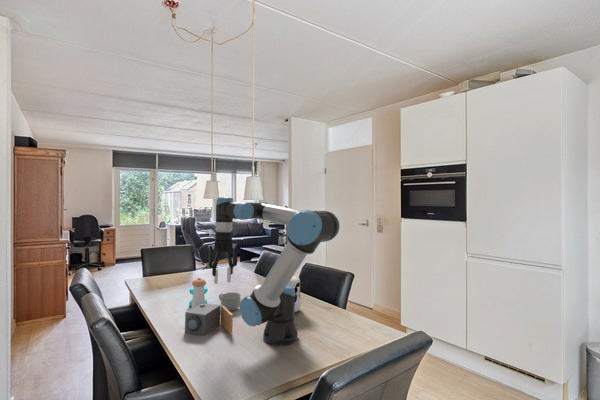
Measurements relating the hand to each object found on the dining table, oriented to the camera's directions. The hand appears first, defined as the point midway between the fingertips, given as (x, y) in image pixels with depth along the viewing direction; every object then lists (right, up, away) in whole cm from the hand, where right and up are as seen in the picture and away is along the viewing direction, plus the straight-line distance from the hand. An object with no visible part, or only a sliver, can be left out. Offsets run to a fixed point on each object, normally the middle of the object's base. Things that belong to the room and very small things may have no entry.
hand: (222, 282), depth 143 cm
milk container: (+27, -24, +30) cm, 47 cm away
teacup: (-4, -23, +32) cm, 40 cm away
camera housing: (-10, -23, +4) cm, 25 cm away
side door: (+1, -22, +4) cm, 23 cm away
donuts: (-23, -23, +37) cm, 49 cm away
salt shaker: (-18, -23, +22) cm, 37 cm away
